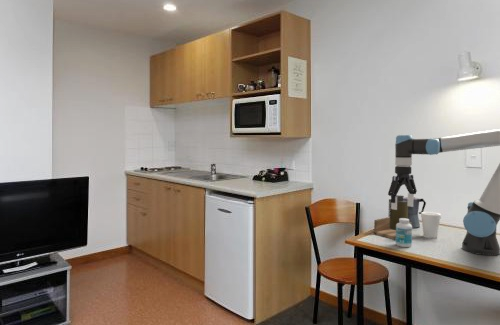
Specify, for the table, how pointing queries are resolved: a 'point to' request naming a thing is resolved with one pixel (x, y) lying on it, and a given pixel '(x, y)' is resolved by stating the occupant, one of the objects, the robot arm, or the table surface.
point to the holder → (384, 228)
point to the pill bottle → (403, 233)
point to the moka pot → (415, 212)
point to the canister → (398, 211)
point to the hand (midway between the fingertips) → (402, 207)
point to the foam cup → (430, 224)
